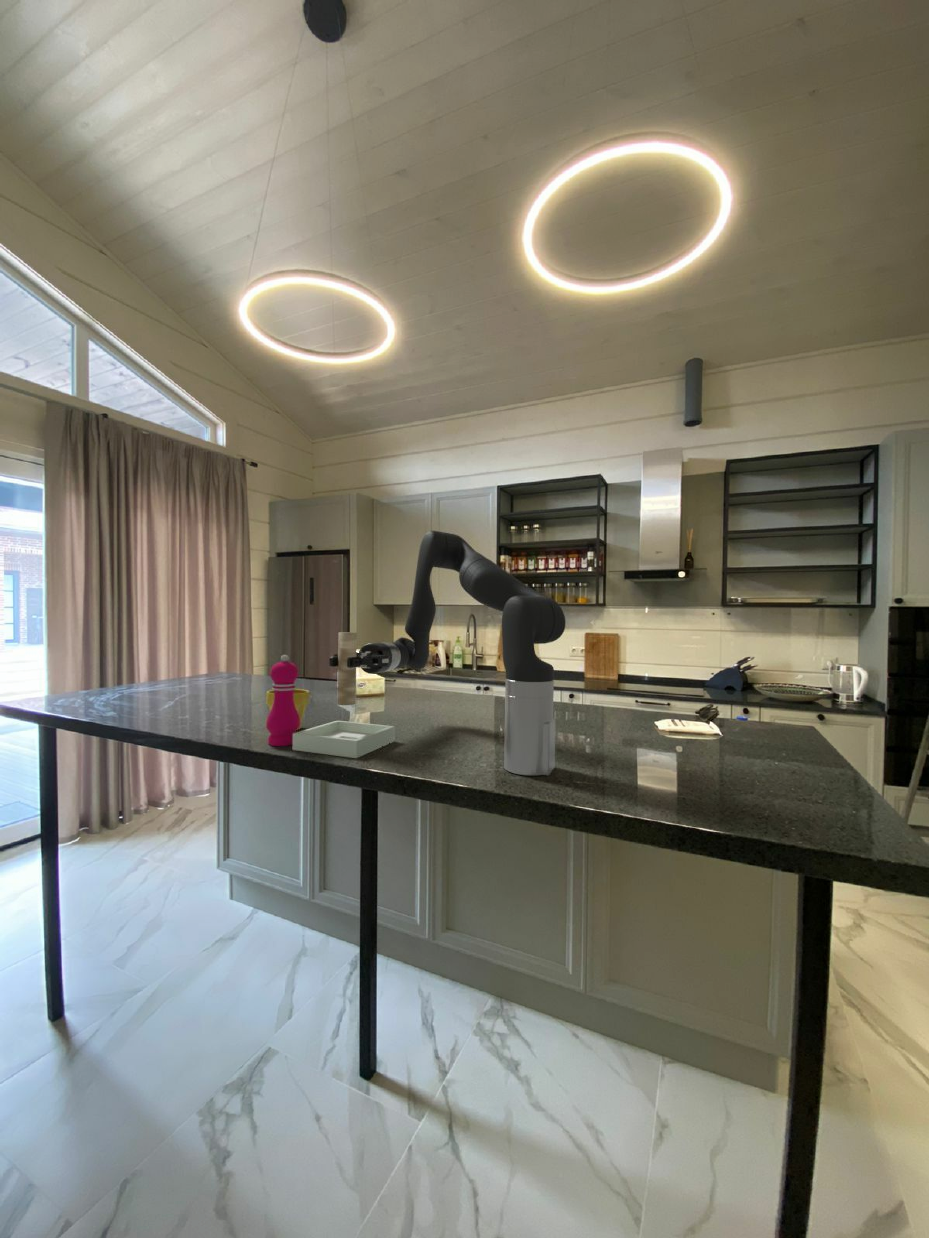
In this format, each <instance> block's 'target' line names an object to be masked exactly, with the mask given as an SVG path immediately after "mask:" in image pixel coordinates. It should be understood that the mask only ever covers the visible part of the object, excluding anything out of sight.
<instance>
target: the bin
mask: <svg viewBox="0 0 929 1238" xmlns="http://www.w3.org/2000/svg"><path fill="white" fill-rule="evenodd" d="M395 731H396V727H395V726H394V725H385V724H377V723H375V724H374V723H367V722H366V723H365V722H357V721H356V722H355V721H346V720H345V721H344V720H334V721H331V722H327V723H324V724H320V725H318V726H317V725H316V726H313V727H311V728H307V729H303V730H299V731H296V732H295V733H293V745H292V751H297V752H298V751H299V752H306V753H315V754H322V755H328V756H329V755H330V756H337V757H343V758H350V759H352V758H353V759H358V758H360V757H362V756H365V755H367V754H368V753H371V752H374V751H376V750H379V749H380V748H383V747H385V746H387V745H389V743H390V744H392V743H394V742H395V741H396V740H395V739H396V738H395V735H396V733H395ZM382 746H383V747H382Z"/></svg>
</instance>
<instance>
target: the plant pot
mask: <svg viewBox="0 0 929 1238" xmlns="http://www.w3.org/2000/svg"><path fill="white" fill-rule="evenodd" d="M265 696H266V699H265V700H266V701H265V703H266V706H268V710H269V712H270V711H271V709H272V706H273V703H274V690H273V689H270V690H268V691H266V695H265ZM293 700H294V705H295V708H296V710H297V712H298V714H299V718H300V726H299V728H298V729H299V730H301V728H302V723H303V720H304V715H305V712H306V711H305V710H306V709H307V705H309V701H310V691H309V690H308V689H303V688H296V689H295V690H294V693H293ZM298 729H297V731H299V730H298Z"/></svg>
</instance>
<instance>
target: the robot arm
mask: <svg viewBox="0 0 929 1238" xmlns="http://www.w3.org/2000/svg"><path fill="white" fill-rule="evenodd" d="M433 568H437V569H445V570H451V571H455V572H458V575H459V576H458V580H459V582H460V586H461V587H462V589H463V590H464V591H465V592H466V593H467V594H468V595H469V596H470V597H472V598H473V600H475V601H476V602H478V603H480V604H481V605H484V606H486V607H488V608H491V609H494V610H496V611H499V612H502V615H501V616H502V617H501V640H502V642H501V643H502V662H503V666H504V670H505V686H504V687H505V692H504V693H505V697H504V747H503V748H504V750H503V751H504V753H503V754H504V755H503V759H504V760H503V762H504V763H503V768H504V769H505V770H506V771H507V772H509V773H513V774H516V775H522V776H550V775H551V773H552V772H553V771H554V769H555V768H556V764H555V763H556V718H554V695H555V694H554V691H555V690H554V687H555V686H554V683H555V669H554V666H553V665H552V664H551V663H548V662H546V661H544V660H542V659H541V658H540V657H538V656H537V654H536V650H535V645H537V644H538V645H541V644H542V645H543V644H544V645H545V644H549V643H550V644H551V643H553V642H555V641H557V640H558V639H560V638H561V637H562V636H563V634H564V632H565V629H566V624H567V623H566V621H567V620H566V616H565V613H564V611H563V608H562V606H560V604H559V603H558V602H557V601H556V600H555V599H554V598H551V597H550V596H548V595H546V594H545V593H541V592H539V591H537V590H535V589H533V588H531V587H529V586H528V585H526V584H525V583H523V582H522V581H520V580H519V579H518V578H516V577H515V576H514V575H512V574H511V573H509V572H508V571H506V570H505V569H504V568H502V567H501V566H499V565H498V564H497V563H495V562H494V561H492V560H491V559H489V558H487V557H486V556H484V555H483V554H481V553H480V552H478V551H476V550H475V549H474V547H473V548H472V546H471V545H470V544H469V543H468V542H467V541H466V540H465V539H464V538H463V537H462V536H460V535H458V534H456V533H449V532H444V531H439V530H428V531H427V532H426V533H424V536H423V537H422V540H421V542H420V545H419V551H418V557H417V564H416V571H415V579H414V585H413V586H414V587H413V595H412V600H411V605H410V607H409V611H408V615H407V619H406V621H405V626H404V632H405V634H407V635H408V637H410V638H411V639H409V638H407V637H403V636H402V637H399V638H397V639H396V640H395V641H393V642H388V641H387V642H386V641H382V642H380V641H379V642H369V643H366V644H364V645H362V647H361V648H360V649H359V650H357V654H356V657H349V658H348V659H347V667H348V668H353V667H356V668H360V669H361V670H362V671H363V672H365V674H370V675H373V674H378V673H379V674H380V673H385V672H389V671H392V670H397V669H401V668H403V667H405V666H406V667H407V668H409V669H411V670H413V671H420V670H422V669H423V668H424V667H425V666H426V665H427V663H428V660H429V658H430V633H431V631H432V626H433V623H434V620H435V616H436V608H437V606H436V601H435V597H434V594H433V590H432V587H431V575H432V571H433ZM328 663H329V667H338V653H335V654H333V656H330V657H329V661H328Z"/></svg>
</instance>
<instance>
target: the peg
mask: <svg viewBox="0 0 929 1238" xmlns="http://www.w3.org/2000/svg"><path fill="white" fill-rule="evenodd" d="M337 639H338V644H337V645H338V647H337V648H338V649H337V652H338V653H337V654H338V666H337V701H336V704H337V705H339V706H354V705H356V704H357V703H356V701H357V699H356V698H357V693H356V691H357V667H353V668H348V667H347V659H348V658H349V657H356V654H357V651H358V650H357V647H358V645H357V643H358V633H357V632H352V631H351V632H349V631H348V632H347V631H345V632H344V631H342V632H341V631H340V632H338V638H337Z"/></svg>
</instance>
